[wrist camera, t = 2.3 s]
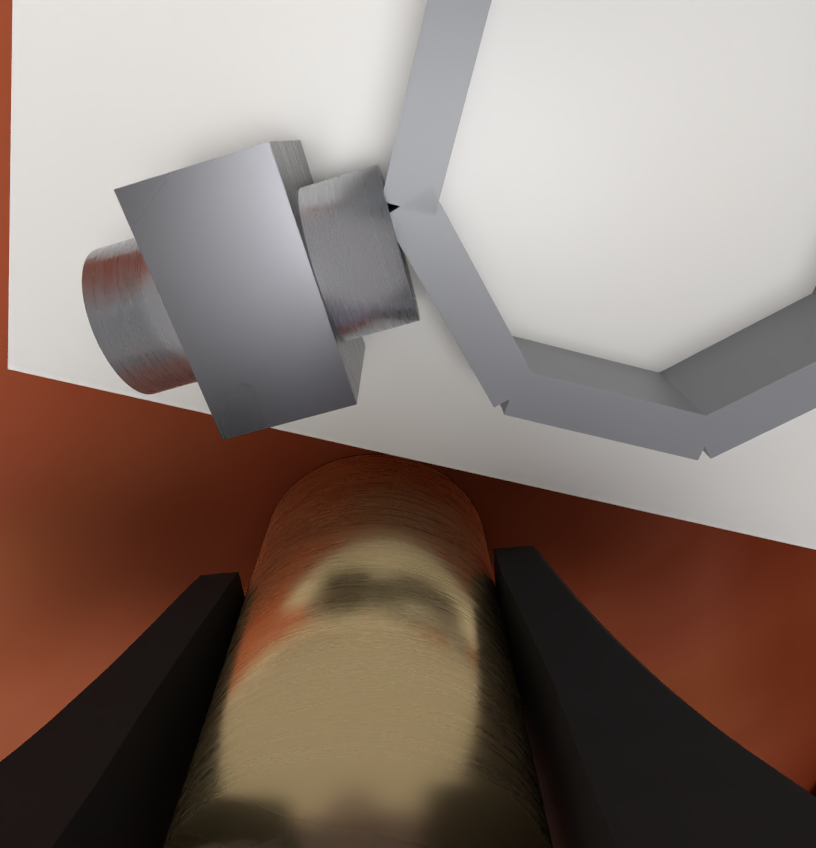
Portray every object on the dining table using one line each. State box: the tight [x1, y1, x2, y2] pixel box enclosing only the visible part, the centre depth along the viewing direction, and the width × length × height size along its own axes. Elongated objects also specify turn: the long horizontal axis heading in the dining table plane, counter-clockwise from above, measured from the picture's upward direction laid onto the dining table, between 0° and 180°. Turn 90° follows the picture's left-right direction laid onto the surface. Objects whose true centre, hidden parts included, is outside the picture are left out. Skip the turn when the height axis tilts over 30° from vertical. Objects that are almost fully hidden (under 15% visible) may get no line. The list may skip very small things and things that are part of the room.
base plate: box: [8, 0, 816, 550], centre depth 8 cm, size 16×10×3 cm, turn 75°
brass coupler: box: [163, 454, 553, 848], centre depth 9 cm, size 4×4×7 cm
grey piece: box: [82, 140, 420, 440], centre depth 8 cm, size 3×3×2 cm
